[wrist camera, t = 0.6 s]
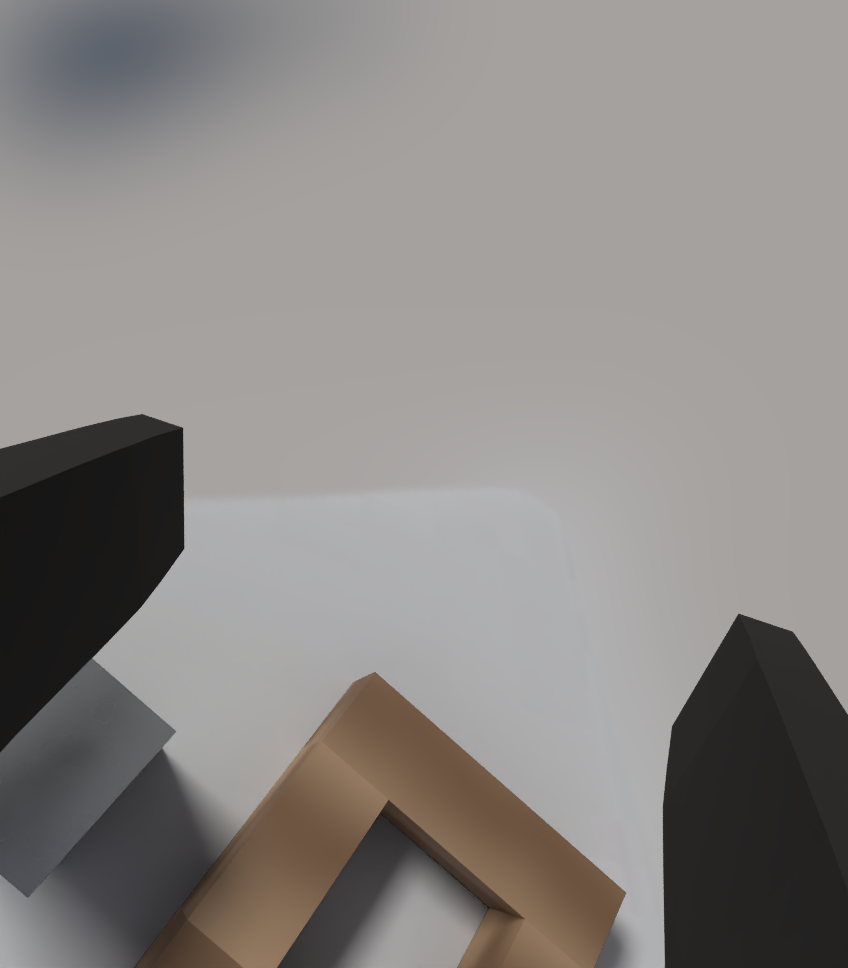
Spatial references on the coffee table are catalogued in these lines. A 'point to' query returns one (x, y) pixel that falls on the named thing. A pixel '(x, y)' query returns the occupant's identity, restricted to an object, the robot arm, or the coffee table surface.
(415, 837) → the socket block
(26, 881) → the peg
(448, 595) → the coffee table surface
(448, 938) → the coffee table surface
